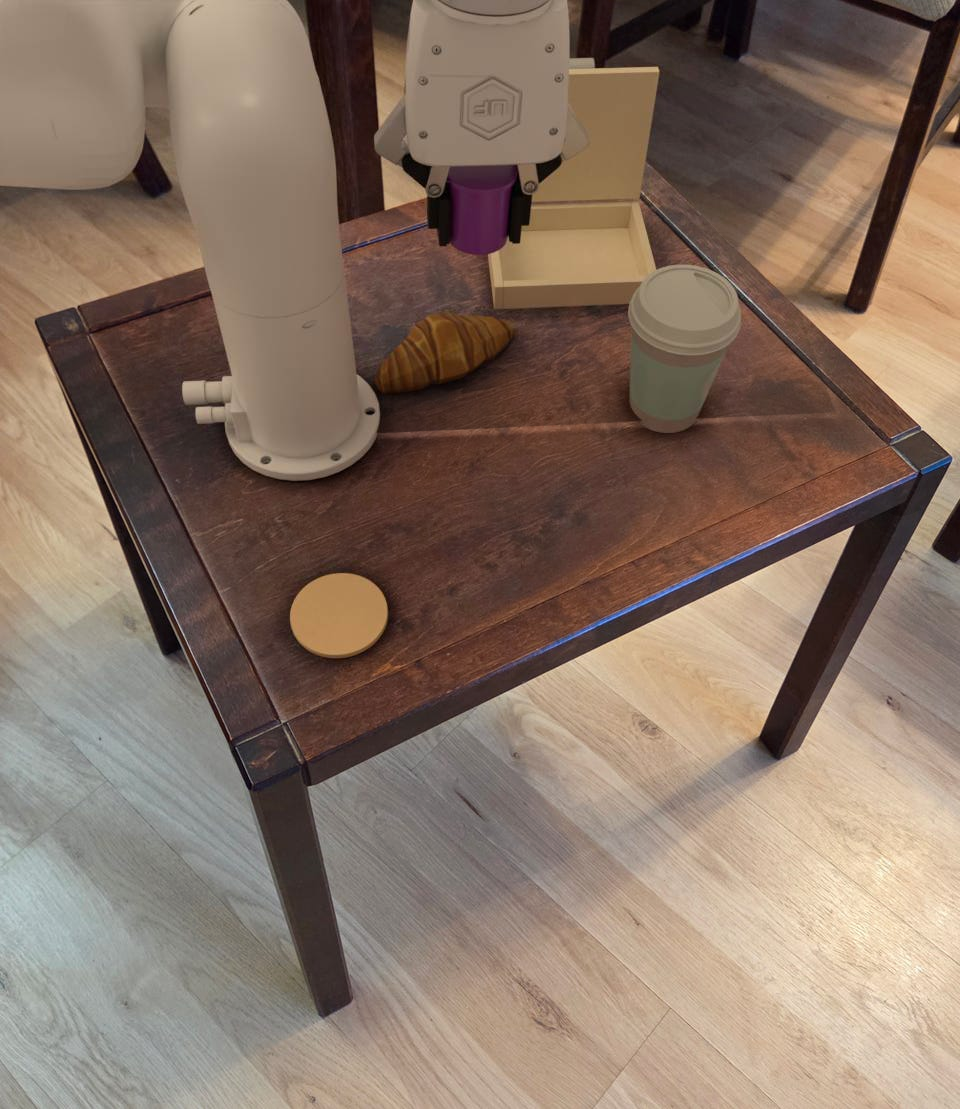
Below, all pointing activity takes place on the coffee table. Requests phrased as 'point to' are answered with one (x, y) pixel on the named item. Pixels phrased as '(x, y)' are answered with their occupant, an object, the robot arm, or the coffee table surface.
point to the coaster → (339, 615)
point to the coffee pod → (480, 207)
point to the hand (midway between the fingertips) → (477, 230)
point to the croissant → (442, 351)
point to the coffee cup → (678, 343)
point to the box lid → (606, 133)
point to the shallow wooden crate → (573, 257)
